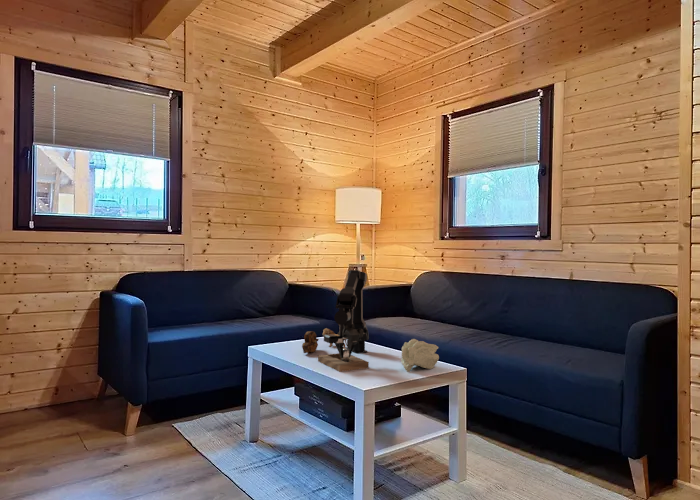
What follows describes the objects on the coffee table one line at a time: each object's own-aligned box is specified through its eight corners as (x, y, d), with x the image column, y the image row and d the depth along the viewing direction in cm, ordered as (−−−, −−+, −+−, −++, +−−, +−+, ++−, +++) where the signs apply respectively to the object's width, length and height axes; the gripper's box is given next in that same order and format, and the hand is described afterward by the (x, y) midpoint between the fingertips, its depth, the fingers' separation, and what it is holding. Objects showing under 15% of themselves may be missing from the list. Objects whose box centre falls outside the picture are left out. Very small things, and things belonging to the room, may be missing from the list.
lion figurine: (320, 346, 247) (321, 329, 247) (324, 344, 252) (324, 327, 252) (348, 349, 243) (348, 331, 243) (351, 347, 248) (351, 329, 248)
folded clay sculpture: (419, 381, 211) (425, 346, 218) (440, 380, 201) (445, 344, 207) (387, 368, 204) (394, 333, 210) (407, 366, 193) (414, 329, 200)
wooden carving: (310, 356, 225) (311, 334, 225) (301, 355, 226) (301, 334, 226) (319, 349, 241) (320, 329, 241) (311, 348, 242) (311, 328, 242)
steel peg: (337, 364, 209) (337, 348, 209) (347, 363, 211) (347, 347, 211) (342, 367, 204) (343, 350, 204) (353, 366, 207) (353, 349, 207)
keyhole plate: (317, 361, 215) (318, 355, 215) (345, 358, 222) (345, 352, 222) (339, 371, 198) (339, 365, 198) (368, 368, 205) (368, 362, 205)
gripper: (335, 325, 196) (334, 363, 196) (374, 322, 205) (373, 359, 205) (323, 321, 206) (322, 358, 206) (361, 319, 215) (360, 354, 215)
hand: (345, 357), depth 208 cm, fingers closed on steel peg, 3 cm apart
